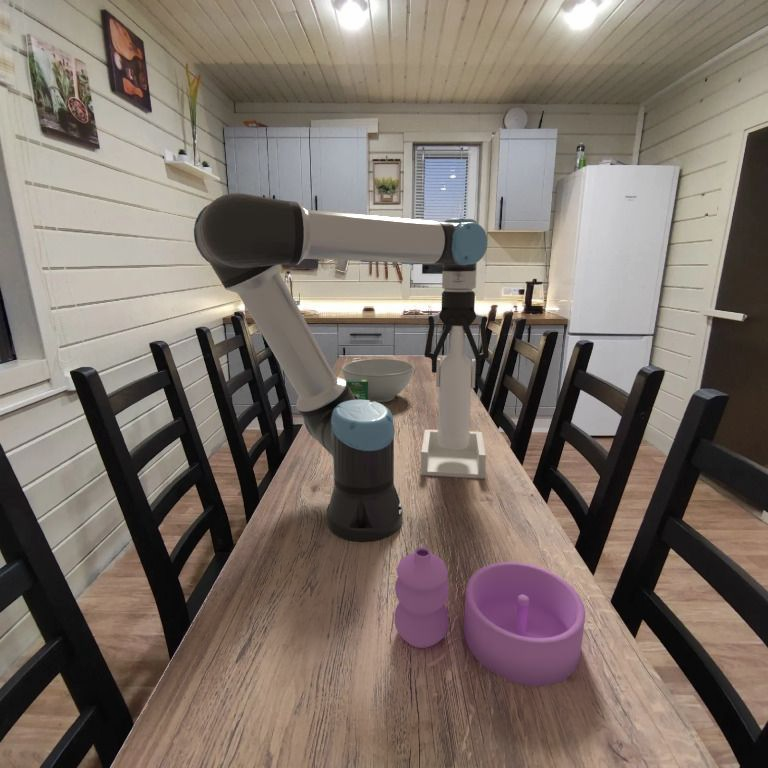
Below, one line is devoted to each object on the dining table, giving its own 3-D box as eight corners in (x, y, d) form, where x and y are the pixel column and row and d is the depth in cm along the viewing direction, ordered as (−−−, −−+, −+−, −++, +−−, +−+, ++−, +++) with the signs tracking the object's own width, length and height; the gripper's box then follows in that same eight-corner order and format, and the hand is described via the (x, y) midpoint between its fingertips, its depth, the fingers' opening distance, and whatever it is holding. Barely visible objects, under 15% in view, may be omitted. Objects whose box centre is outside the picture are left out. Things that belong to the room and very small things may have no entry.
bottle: (468, 451, 111) (474, 327, 103) (436, 449, 112) (438, 327, 104) (469, 439, 118) (474, 322, 110) (438, 437, 120) (441, 322, 112)
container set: (558, 598, 70) (567, 522, 67) (598, 689, 55) (612, 597, 52) (395, 594, 71) (395, 519, 68) (392, 681, 57) (392, 591, 53)
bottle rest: (484, 478, 108) (485, 455, 107) (420, 474, 110) (421, 452, 109) (480, 452, 123) (481, 431, 121) (424, 450, 125) (424, 429, 123)
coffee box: (368, 416, 151) (367, 378, 148) (369, 419, 149) (368, 380, 145) (343, 418, 150) (342, 379, 147) (344, 421, 147) (342, 381, 144)
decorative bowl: (410, 387, 185) (411, 358, 182) (417, 408, 160) (417, 374, 156) (344, 388, 185) (343, 359, 182) (340, 409, 159) (339, 375, 156)
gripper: (412, 291, 103) (411, 388, 109) (506, 291, 100) (500, 391, 106) (414, 289, 110) (414, 380, 116) (502, 289, 107) (497, 383, 113)
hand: (455, 385), depth 111 cm, fingers closed on bottle, 8 cm apart
